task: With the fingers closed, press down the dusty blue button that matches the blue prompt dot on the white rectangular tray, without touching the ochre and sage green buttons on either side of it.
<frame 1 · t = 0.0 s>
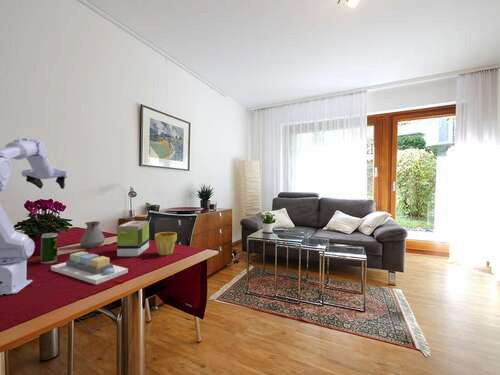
hand: (52, 186, 98), 32 cm above the table, tool tilted 50°, fingers open, 7 cm apart
sage button: (79, 257, 90), point 4 cm above the table, slide at 0.0 cm
ochre button: (100, 262, 85), point 4 cm above the table, slide at 0.0 cm
plant pot: (165, 253, 112), on the table
beer can: (49, 262, 97), on the table
tea box: (133, 252, 114), on the table
white rectangular tray: (89, 271, 88), on the table
blue button: (89, 259, 88), point 4 cm above the table, slide at 0.0 cm
coffee pot: (92, 248, 118), on the table
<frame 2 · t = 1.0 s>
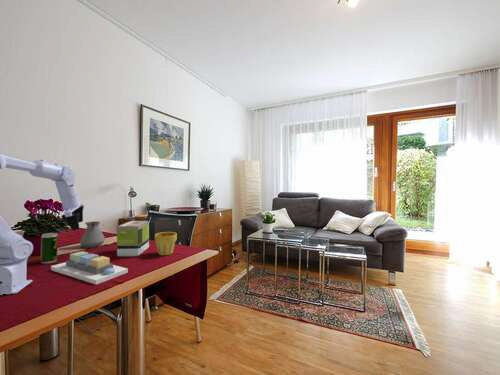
hand: (77, 225, 95), 16 cm above the table, tool tilted 20°, fingers open, 7 cm apart
nothing on the table moved.
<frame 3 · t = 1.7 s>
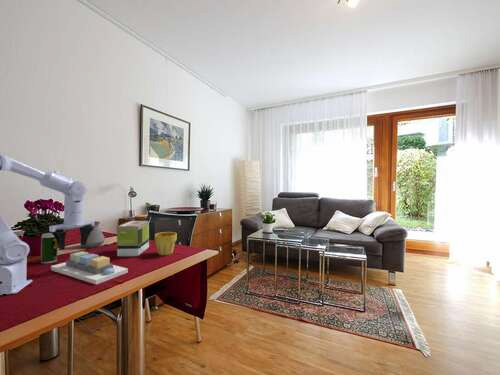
hand: (72, 247, 87), 9 cm above the table, tool pointing down, fingers open, 7 cm apart
nothing on the table moved.
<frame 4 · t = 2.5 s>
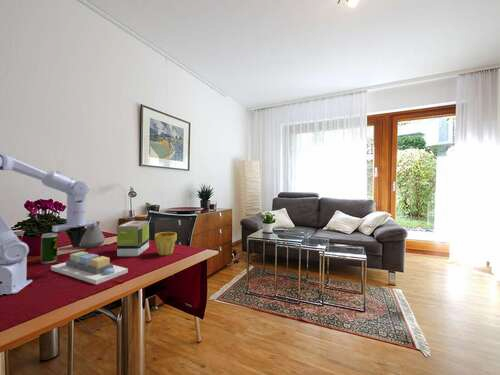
hand: (75, 246, 87), 9 cm above the table, tool pointing down, fingers closed
nothing on the table moved.
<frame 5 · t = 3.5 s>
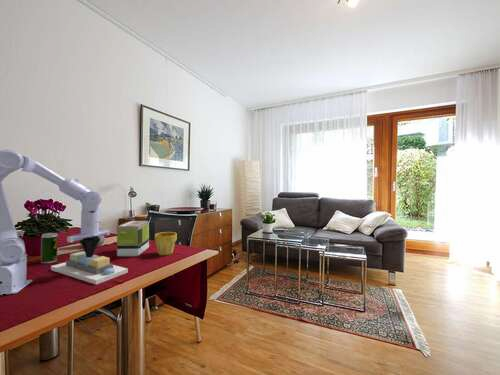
hand: (89, 256, 88), 6 cm above the table, tool pointing down, fingers closed, pressing on blue button
blue button: (89, 260, 88), point 4 cm above the table, slide at 0.3 cm, touching gripper
everything else where it was.
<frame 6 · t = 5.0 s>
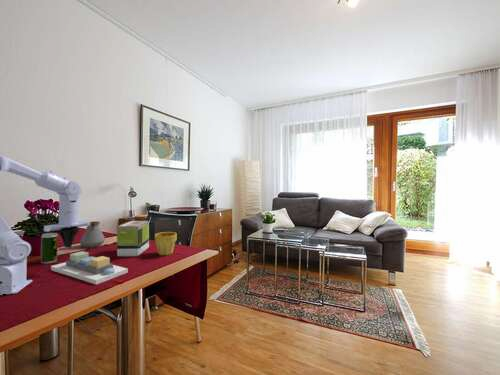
hand: (67, 246, 87), 9 cm above the table, tool pointing down, fingers closed
blue button: (89, 262, 88), point 3 cm above the table, slide at 1.1 cm
everything else where it was.
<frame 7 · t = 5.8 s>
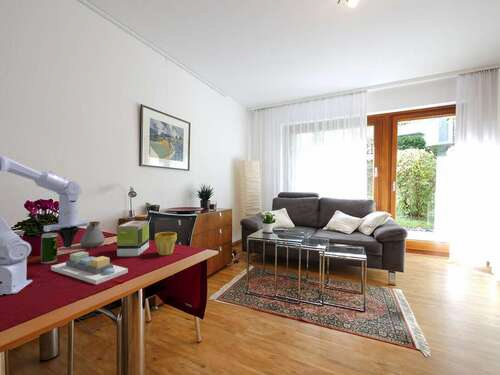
hand: (67, 246, 87), 9 cm above the table, tool pointing down, fingers closed
nothing on the table moved.
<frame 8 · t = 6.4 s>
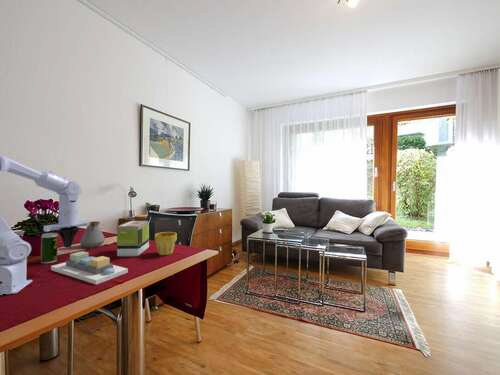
hand: (67, 246, 87), 9 cm above the table, tool pointing down, fingers closed
nothing on the table moved.
at the end: blue button slide at 1.1 cm; ochre button slide at 0.0 cm; sage button slide at 0.0 cm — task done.
